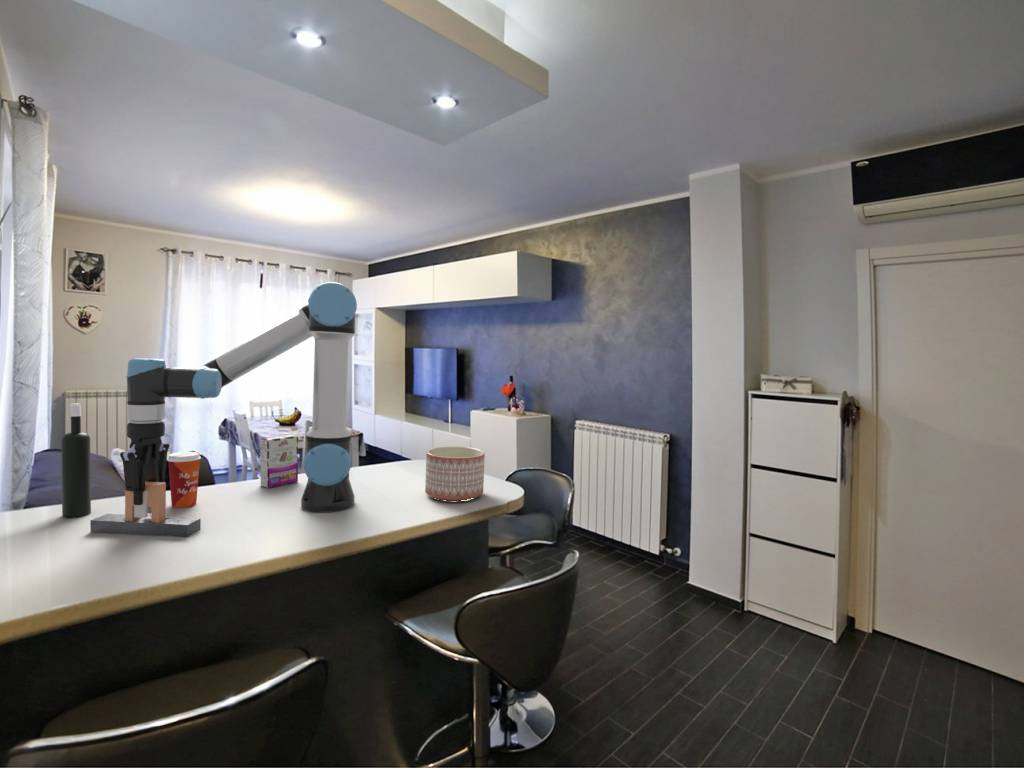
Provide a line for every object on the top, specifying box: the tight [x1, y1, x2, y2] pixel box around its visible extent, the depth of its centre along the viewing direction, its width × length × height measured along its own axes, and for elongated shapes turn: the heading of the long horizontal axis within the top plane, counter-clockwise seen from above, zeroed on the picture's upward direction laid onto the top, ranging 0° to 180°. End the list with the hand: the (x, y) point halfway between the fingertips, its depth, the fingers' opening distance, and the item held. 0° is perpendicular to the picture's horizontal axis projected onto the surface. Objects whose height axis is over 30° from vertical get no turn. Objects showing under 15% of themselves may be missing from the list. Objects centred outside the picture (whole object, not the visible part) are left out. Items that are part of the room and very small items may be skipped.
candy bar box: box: [259, 434, 299, 489], centre depth 170 cm, size 11×5×16 cm, turn 147°
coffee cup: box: [167, 451, 202, 509], centre depth 144 cm, size 8×8×15 cm
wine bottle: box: [60, 402, 92, 519], centre depth 132 cm, size 6×6×30 cm
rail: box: [90, 513, 202, 538], centre depth 123 cm, size 24×5×3 cm, turn 89°
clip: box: [124, 481, 167, 523], centre depth 123 cm, size 8×2×10 cm, turn 89°
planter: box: [424, 445, 486, 501], centre depth 164 cm, size 19×19×15 cm
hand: (145, 514), depth 123 cm, fingers closed on clip, 2 cm apart
